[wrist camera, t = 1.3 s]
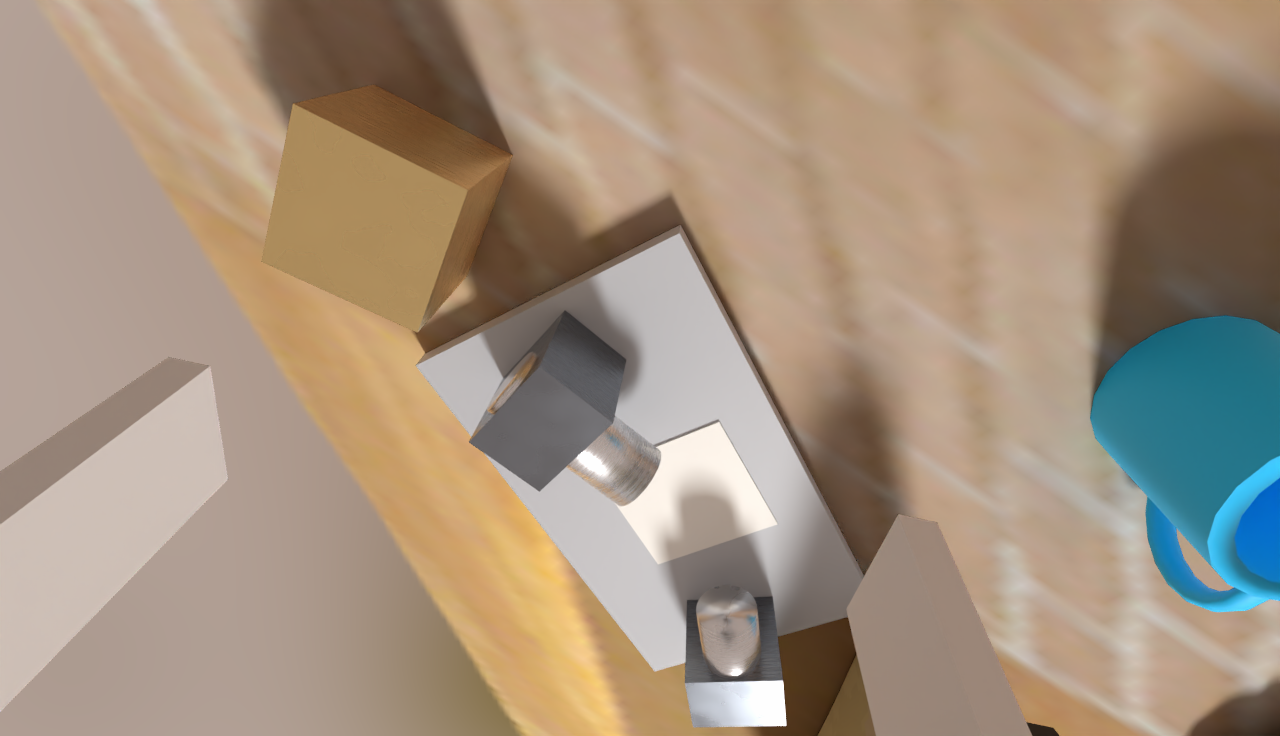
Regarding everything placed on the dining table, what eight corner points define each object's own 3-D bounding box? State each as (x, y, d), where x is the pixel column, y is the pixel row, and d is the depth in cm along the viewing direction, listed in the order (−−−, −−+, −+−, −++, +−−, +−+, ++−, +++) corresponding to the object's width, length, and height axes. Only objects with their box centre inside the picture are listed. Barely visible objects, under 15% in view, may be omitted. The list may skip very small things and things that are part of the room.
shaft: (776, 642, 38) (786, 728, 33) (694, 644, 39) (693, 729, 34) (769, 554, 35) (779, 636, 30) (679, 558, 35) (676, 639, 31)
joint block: (341, 215, 29) (261, 261, 24) (374, 84, 26) (292, 103, 21) (467, 275, 30) (417, 332, 25) (513, 154, 27) (467, 190, 22)
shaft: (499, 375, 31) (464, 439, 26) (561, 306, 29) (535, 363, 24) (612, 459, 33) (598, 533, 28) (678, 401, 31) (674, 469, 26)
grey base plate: (424, 353, 32) (414, 366, 31) (680, 224, 28) (679, 233, 27) (655, 654, 41) (654, 672, 40) (872, 591, 37) (877, 610, 36)
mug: (1123, 313, 28) (1267, 417, 21) (1328, 316, 27) (1548, 425, 20) (1045, 524, 34) (1136, 662, 27) (1212, 530, 33) (1352, 674, 26)
